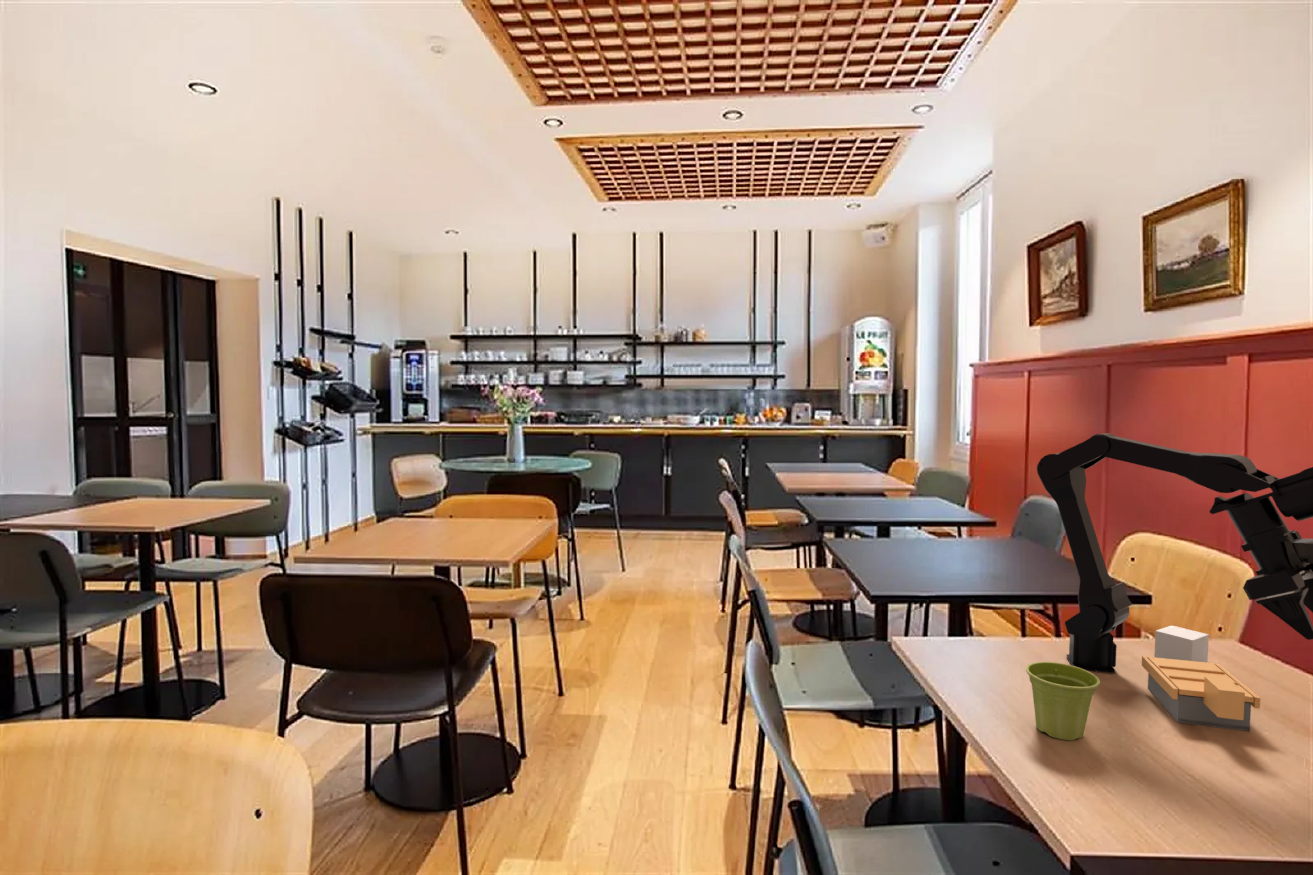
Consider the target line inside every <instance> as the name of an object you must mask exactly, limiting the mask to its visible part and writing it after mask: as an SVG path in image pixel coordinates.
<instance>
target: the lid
mask: <svg viewBox="0 0 1313 875" xmlns="http://www.w3.org/2000/svg"><path fill="white" fill-rule="evenodd" d="M1141 666H1142V668H1143V669H1144V670H1145V671H1146V672H1147V674H1148V673H1149V674H1150V675H1151V676H1152V677H1153V678H1154V679H1155V680H1156V681H1157V683H1158V684H1159V685H1160V686H1161V687H1162V688H1163V689H1164V690H1165V691H1166V692H1167V693H1168V694H1169V695H1170V696H1171V698H1172V699H1178V694H1180V695H1189V696H1198V697H1203V703H1204V704H1205V705H1206V706H1207V707H1208V708H1209V709H1210V710H1211V711H1212V712H1213V713H1214V714H1215V715H1216V716H1217V717H1220V718H1228V719H1237V720H1243V719H1244V702H1250V703H1251V707H1253V708H1254V709H1260V707H1261V697H1260V696H1258V694H1256V693H1255V692H1253V691H1252V690H1251V689H1250V688H1249V687H1248V686H1246V685H1245V684H1244V683H1243V682H1242V681H1240V680H1239V679H1238V678H1237V677H1235V676H1234V675H1233V674H1232V673H1231V672H1229V671H1228V670H1227V669H1226V668H1224V667H1223V666H1222V665H1221V664H1219V663H1216V662H1215V663H1213V662H1207V663H1206V662H1196V661H1186V660H1176V659H1165V658H1155V657H1154V656H1144V655H1142V656H1141Z"/></svg>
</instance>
